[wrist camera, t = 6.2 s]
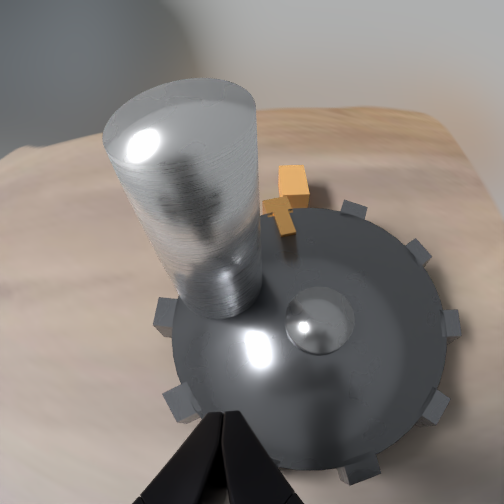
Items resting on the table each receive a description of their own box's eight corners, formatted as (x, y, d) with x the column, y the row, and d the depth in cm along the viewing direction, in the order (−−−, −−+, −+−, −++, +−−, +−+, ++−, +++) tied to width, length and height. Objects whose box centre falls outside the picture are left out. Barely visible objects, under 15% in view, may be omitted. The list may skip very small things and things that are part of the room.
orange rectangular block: (307, 213, 20) (309, 194, 19) (282, 214, 20) (283, 195, 19) (301, 184, 22) (303, 165, 20) (278, 184, 22) (278, 165, 20)
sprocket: (474, 415, 12) (639, 349, 3) (198, 510, 11) (77, 614, 1) (379, 198, 20) (426, 48, 11) (155, 244, 18) (84, 83, 9)
